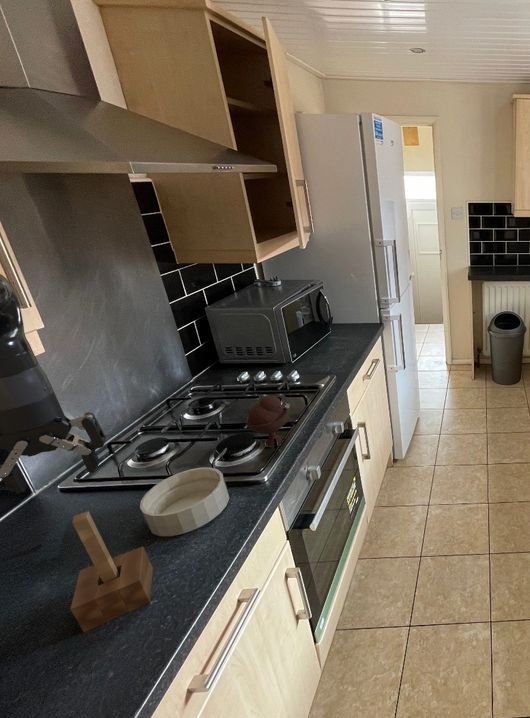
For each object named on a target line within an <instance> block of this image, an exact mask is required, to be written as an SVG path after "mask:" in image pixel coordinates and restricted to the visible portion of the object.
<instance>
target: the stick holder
mask: <svg viewBox="0 0 530 718" xmlns="http://www.w3.org/2000/svg"><path fill="white" fill-rule="evenodd" d="M111 558H112V560H113V562H114V564H115V566H116V568H117V570H118V572H119V574H120V577H118V578H116V579H113V580H111V581H109V582H106V583H103V581H102V579H101V577H100V575H99V573H98V572H97V570H96V568H95V566H94V564H93V565H91V566H89V567H85V568H83V569H80V570H79V573H78V577H77V580H76V581H77V582H76V585H75V590H74V593H73V597H72V602H71V605H70V611H71V613H72V615H73V616H74V618H75V619H76V621H77V623H78V625H79V627H80V629H81V630H82V631H83V633H86V632H89V631H91V630H94V629H95V628H97V627H100V626H102V625H104V624H106V623H108V622H111V621H113V620H116V619H117V618H120V617H122V616H124V615H127V614H128V613H131V612H133V611H135V610H137V609H140V608H142V607H144V606H146V605H148V604H151V599H152V585H153V584H152V583H153V572H154V566H153V565H152V562H151V561H150V558H149V556H148V553H147V552H146V549H145V547H144V546H143V545H142V546H140V547H137V548H135V549H132V550H130V551H127V552H124V553H123V554H122V553H121V554H119V555H117V556H114V557H111Z"/></svg>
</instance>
